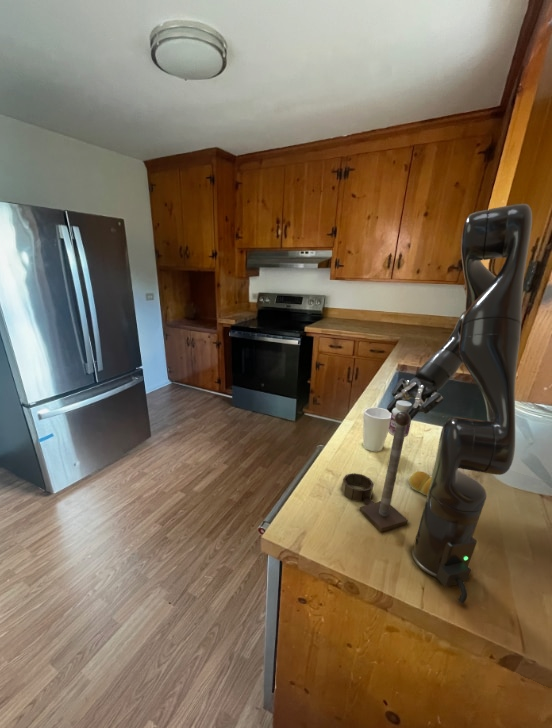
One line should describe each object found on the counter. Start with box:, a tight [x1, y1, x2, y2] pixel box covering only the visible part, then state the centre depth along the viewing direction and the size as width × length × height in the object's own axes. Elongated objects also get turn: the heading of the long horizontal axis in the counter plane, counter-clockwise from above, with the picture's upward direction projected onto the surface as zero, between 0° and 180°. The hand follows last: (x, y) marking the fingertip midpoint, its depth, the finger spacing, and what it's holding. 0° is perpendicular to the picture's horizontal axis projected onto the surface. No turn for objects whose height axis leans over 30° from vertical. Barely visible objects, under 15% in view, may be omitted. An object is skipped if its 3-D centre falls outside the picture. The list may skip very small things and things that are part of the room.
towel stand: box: [341, 412, 412, 533], centre depth 82 cm, size 18×8×29 cm, turn 21°
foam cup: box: [362, 406, 392, 452], centre depth 113 cm, size 10×9×13 cm
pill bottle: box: [388, 400, 413, 438], centre depth 92 cm, size 5×5×10 cm
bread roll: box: [407, 471, 432, 497], centre depth 93 cm, size 8×9×4 cm
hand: (396, 415), depth 91 cm, fingers closed on pill bottle, 5 cm apart
